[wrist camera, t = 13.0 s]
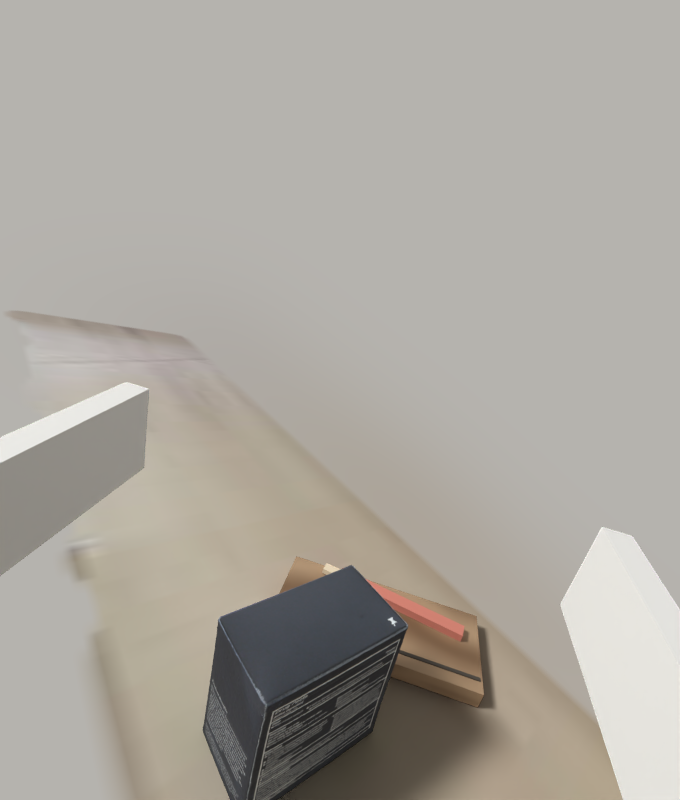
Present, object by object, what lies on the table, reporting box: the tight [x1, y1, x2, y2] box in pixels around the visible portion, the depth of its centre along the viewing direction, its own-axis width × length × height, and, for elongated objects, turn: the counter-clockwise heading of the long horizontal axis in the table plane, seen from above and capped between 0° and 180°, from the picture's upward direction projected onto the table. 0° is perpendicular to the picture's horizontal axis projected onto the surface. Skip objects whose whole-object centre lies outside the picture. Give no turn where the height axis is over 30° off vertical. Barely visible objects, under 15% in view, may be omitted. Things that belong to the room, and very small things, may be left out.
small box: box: [203, 565, 408, 800], centre depth 29 cm, size 11×6×10 cm, turn 127°
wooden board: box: [279, 556, 484, 708], centre depth 40 cm, size 8×18×2 cm, turn 78°
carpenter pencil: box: [322, 563, 464, 641], centre depth 42 cm, size 14×1×1 cm, turn 68°
